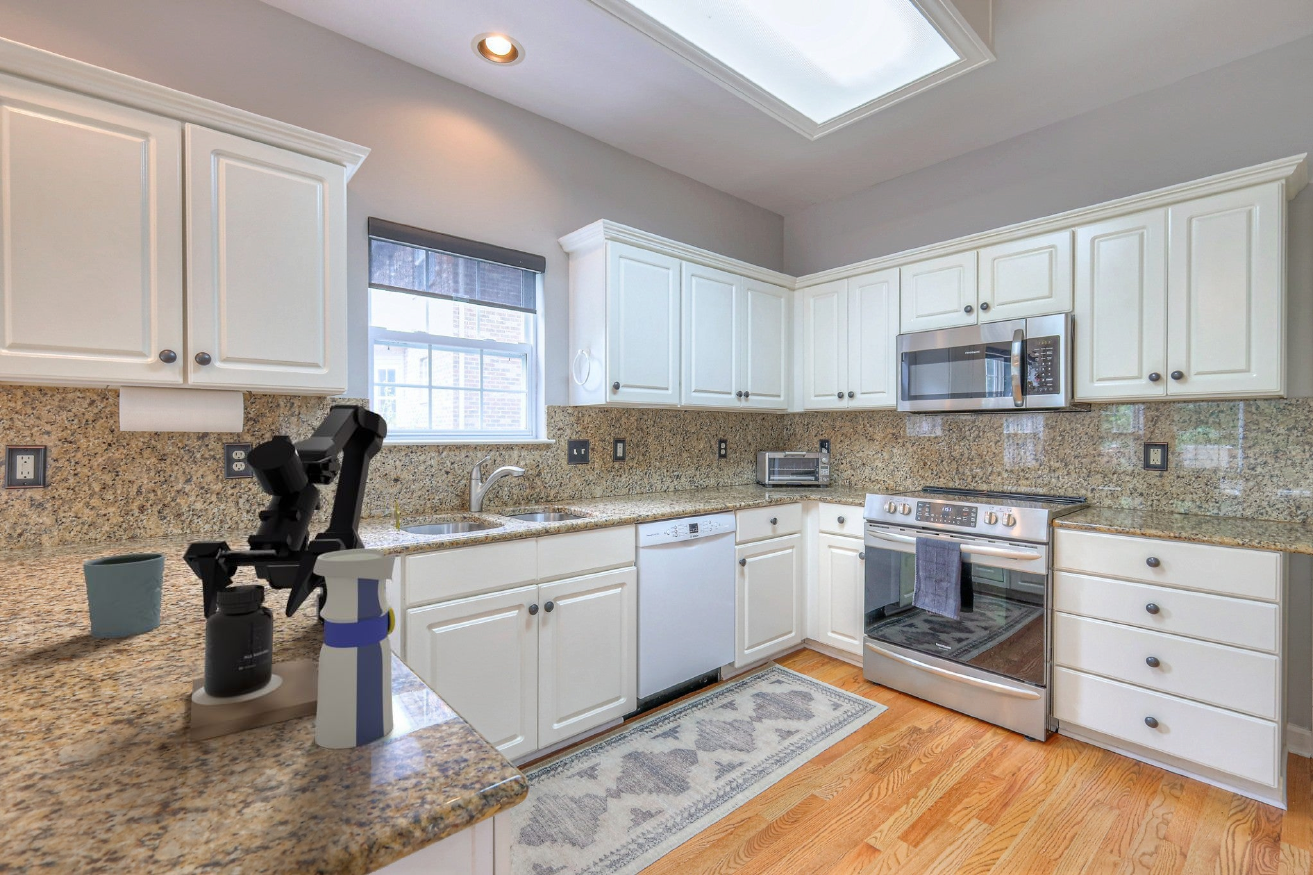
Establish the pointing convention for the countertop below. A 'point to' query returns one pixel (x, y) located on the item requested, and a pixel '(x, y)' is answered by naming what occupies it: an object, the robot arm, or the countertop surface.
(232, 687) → the supplement bottle
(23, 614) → the countertop surface
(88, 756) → the countertop surface
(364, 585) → the water bottle
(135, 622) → the blue-grey cup
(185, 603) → the countertop surface
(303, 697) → the walnut board
